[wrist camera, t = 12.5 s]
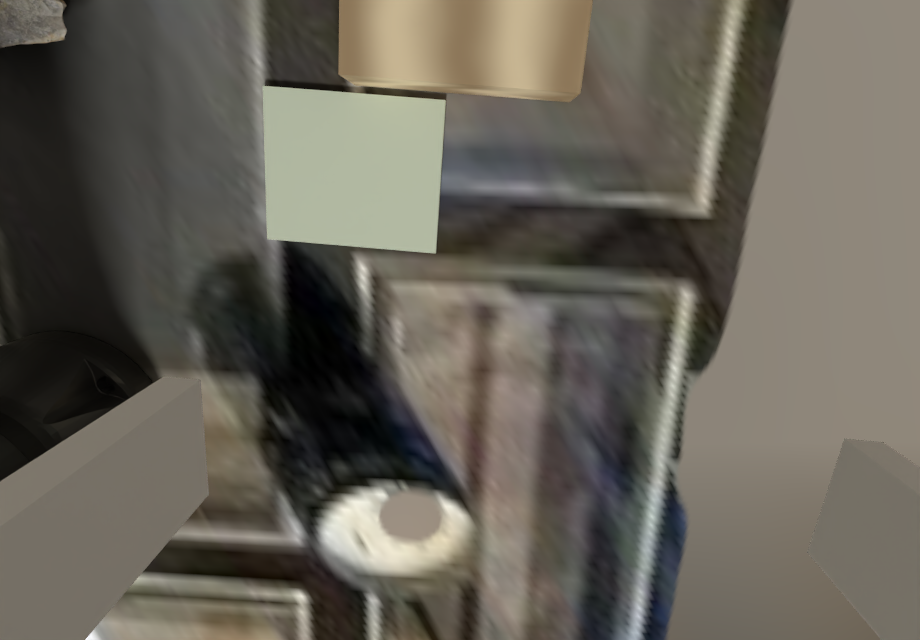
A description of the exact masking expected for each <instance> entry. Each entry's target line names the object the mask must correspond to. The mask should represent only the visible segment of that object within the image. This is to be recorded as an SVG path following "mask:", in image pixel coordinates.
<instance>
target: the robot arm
mask: <svg viewBox="0 0 920 640" xmlns="http://www.w3.org/2000/svg"><path fill="white" fill-rule="evenodd" d="M208 495H209V491H208V477H207V463H206V450H205V436H204V422H203V408H202V394H201V380H199V379H188V378H177V377H166V376H164V377H162V378H161V379H159V380H157V381H156V382H154V383H152V382H151V380H150V379H149V378H148V376H147V375H146V374H145V373H144V372H143V371H142V370H141V369H140V368H139V367H138V366H137V365H136V364H135V363H134V362H133V361H132V360H131V359H129V358H128V357H127V356H126V355H124V354H123V353H122V352H120V351H118V350H117V349H115V348H114V347H112V346H110V345H108V344H106V343H104V342H102V341H100V340H97V339H95V338H92V337H89V336H86V335H82V334H78V333H73V332H64V331H49V332H41V333H36V334H32V335H29V336H27V337H24V338H21V339H18V340H16V341H13V342H10V343H7V344H5V345H2V346H0V640H85V639H86V638H87V637H88V635H89V634H90V633H91V632H92V631H93V630H94V628H95V627H96V626H97V625H98V624H99V622H100V621H101V620H102V619H103V618H104V617H105V615H106V614H107V613H108V612H109V611H110V610H111V608H112V607H113V606H114V605H115V604H116V603H117V601H118V600H119V599H120V598H121V597H122V595H123V594H124V593H125V592H126V591H127V590H128V588H129V587H130V586H131V585H132V584H133V583H134V581H135V580H136V579H137V578H138V577H139V576H140V574H141V573H142V572H143V571H144V570H145V569H146V567H147V566H148V565H149V564H150V563H151V561H152V560H153V559H154V558H155V557H156V556H157V554H158V553H159V552H160V551H161V550H162V549H163V547H164V546H165V545H166V544H167V543H168V542H169V540H170V539H171V538H172V537H173V536H174V534H175V533H176V532H177V531H178V530H179V529H180V527H181V526H182V525H183V524H184V523H185V522H186V520H187V519H188V518H189V517H190V516H191V515H192V513H193V512H194V511H195V510H196V509H197V508H198V506H199V505H200V504H201V503H202V502H203V500H204V499H205V498H206V497H207V496H208ZM807 553H808V554H809V555H810V556H811V557H812V559H813V560H814V561H815V562H816V563H817V564H818V566H819V567H820V568H821V569H822V570H823V572H825V574H826V575H827V576H828V577H829V579H830V580H831V581H832V582H833V583H834V584H835V586H836V587H837V588H838V589H839V591H840V592H841V593H842V594H843V595H844V596H845V598H846V599H847V600H848V601H849V602H850V604H851V605H852V606H853V607H854V608H855V609H856V610H857V612H858V613H859V614H860V615H861V617H863V619H864V620H865V621H866V622H867V623H868V625H869V626H870V627H871V628H872V630H873V631H874V632H875V633H876V634H877V636H878V637H879V638H880V639H881V640H920V467H919V466H917V465H916V464H914V463H913V462H911V461H910V460H908V459H907V458H905V457H904V456H903V455H901V454H900V453H898V452H897V451H895V450H894V449H892V448H891V447H889V446H888V445H886V444H885V443H884V442H874V441H864V440H853V439H844V442H843V445H842V448H841V451H840V454H839V457H838V460H837V463H836V466H835V469H834V472H833V475H832V478H831V482H830V484H829V487H828V490H827V494H826V497H825V500H824V503H823V506H822V509H821V512H820V515H819V518H818V521H817V524H816V527H815V530H814V534H813V536H812V539H811V542H810V546H809V549H808V552H807Z"/></svg>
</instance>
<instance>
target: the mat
mask: <svg viewBox="0 0 920 640" xmlns="http://www.w3.org/2000/svg"><path fill="white" fill-rule="evenodd" d="M445 110H446V100H439V99H426V98H413V97H400V96H388V95H375V94H362V93H349V92H336V91H324V90H311V89H298V88H285V87H272V86H263V114H264V148H265V182H266V216H267V239H273V240H284V241H296V242H308V243H320V244H331V245H343V246H355V247H367V248H378V249H390V250H402V251H414V252H425V253H436V248H437V233H438V218H439V202H440V187H441V171H442V156H443V140H444V125H445Z"/></svg>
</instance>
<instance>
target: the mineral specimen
mask: <svg viewBox="0 0 920 640" xmlns="http://www.w3.org/2000/svg"><path fill="white" fill-rule="evenodd" d="M66 6H67V5H66V4H65V2H64V1H63V0H0V49H1V48H3V47H7V46H13V45H18V44H34V43H49V42H55V41H61V40H65V35H66V32H67V29H66V27H65V25H64V21H63V11H64V9H65V7H66Z"/></svg>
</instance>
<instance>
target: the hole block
mask: <svg viewBox="0 0 920 640" xmlns="http://www.w3.org/2000/svg"><path fill="white" fill-rule="evenodd" d="M592 3H593V0H339V75H340V76H342V77H343V78H345V79H346V80H348V81H349V82H351V83H352V84H354V85H356V86H368V87H381V88H394V89H407V90H420V91H433V92H446V93H458V94H471V95H484V96H497V97H510V98H523V99H535V100H548V101H561V102H570V101H571V100H573V99H574V98H575V97H576V96H578V95H579V94H580V93H581V85H582V78H583V70H584V63H585V55H586V48H587V40H588V33H589V25H590V18H591V10H592Z"/></svg>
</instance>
